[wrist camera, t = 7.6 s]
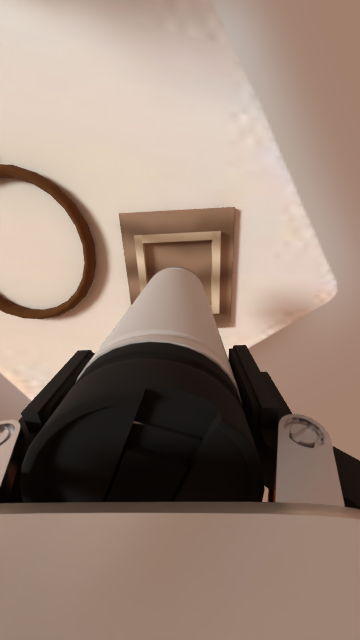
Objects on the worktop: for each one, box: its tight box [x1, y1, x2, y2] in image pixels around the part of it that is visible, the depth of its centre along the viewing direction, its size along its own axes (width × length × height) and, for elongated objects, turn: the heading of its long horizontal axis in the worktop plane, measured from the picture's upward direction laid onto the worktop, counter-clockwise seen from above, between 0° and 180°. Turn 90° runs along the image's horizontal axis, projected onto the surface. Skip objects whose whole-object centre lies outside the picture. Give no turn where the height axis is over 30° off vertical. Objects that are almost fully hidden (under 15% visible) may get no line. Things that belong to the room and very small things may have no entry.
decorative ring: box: [0, 164, 96, 319], centre depth 35 cm, size 24×3×30 cm
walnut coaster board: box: [119, 207, 235, 327], centre depth 37 cm, size 20×18×2 cm
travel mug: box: [20, 266, 264, 503], centre depth 14 cm, size 6×7×20 cm
